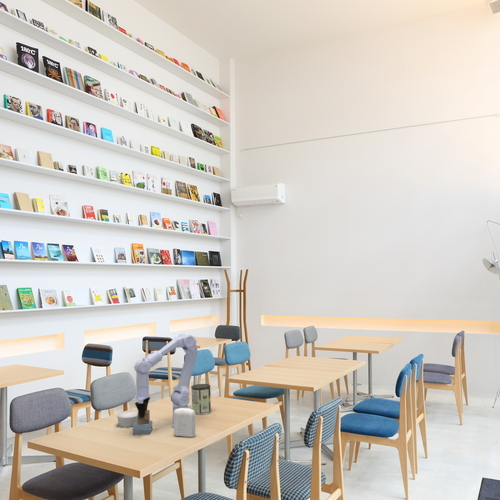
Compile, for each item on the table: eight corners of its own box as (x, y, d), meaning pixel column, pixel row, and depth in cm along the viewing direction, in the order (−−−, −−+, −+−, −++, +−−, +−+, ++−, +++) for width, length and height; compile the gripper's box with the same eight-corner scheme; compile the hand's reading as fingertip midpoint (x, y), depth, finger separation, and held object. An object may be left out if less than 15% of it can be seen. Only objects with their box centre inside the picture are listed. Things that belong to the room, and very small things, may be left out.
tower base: (152, 430, 229) (152, 425, 229) (150, 435, 221) (150, 430, 221) (135, 431, 228) (135, 426, 228) (132, 436, 220) (132, 431, 220)
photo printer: (197, 435, 218) (196, 407, 219) (193, 437, 214) (192, 409, 215) (176, 433, 221) (176, 406, 222) (172, 436, 217) (172, 408, 218)
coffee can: (199, 408, 264) (199, 383, 265) (214, 411, 258) (214, 384, 259) (187, 413, 255) (187, 386, 256) (203, 415, 250) (202, 388, 251)
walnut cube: (149, 420, 228) (149, 410, 228) (148, 423, 223) (148, 412, 223) (139, 421, 227) (138, 410, 228) (137, 424, 222) (137, 413, 223)
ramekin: (134, 428, 231) (134, 417, 231) (112, 427, 233) (112, 416, 234) (143, 421, 242) (143, 411, 242) (123, 421, 244) (123, 410, 245)
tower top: (152, 425, 228) (152, 420, 228) (147, 430, 221) (147, 424, 221) (138, 425, 228) (137, 420, 229) (132, 430, 221) (132, 424, 222)
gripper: (136, 383, 233) (136, 411, 232) (131, 389, 218) (131, 420, 218) (150, 382, 234) (151, 410, 233) (147, 389, 219) (147, 419, 218)
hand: (142, 415), depth 225 cm, fingers open, 7 cm apart
